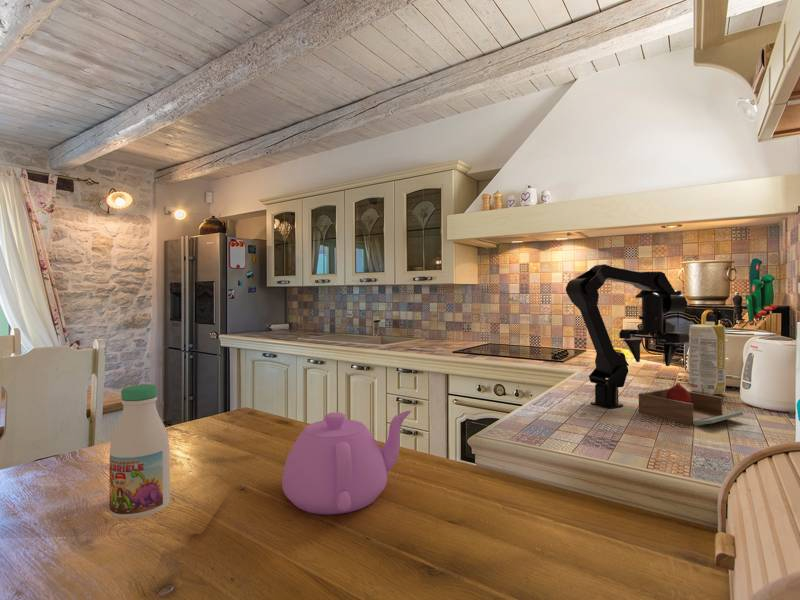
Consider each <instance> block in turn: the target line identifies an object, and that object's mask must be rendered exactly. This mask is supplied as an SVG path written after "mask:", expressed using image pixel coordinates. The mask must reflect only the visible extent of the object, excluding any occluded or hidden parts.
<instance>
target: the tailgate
mask: <svg viewBox="0 0 800 600" xmlns="http://www.w3.org/2000/svg"><path fill="white" fill-rule="evenodd" d="M740 416H741V417H742V416H744V412H743V411H737V412H732V413H724V414H723V415H719V416H715V417H712V418H708V419H704V420H700V421H696V422H693V424H694V425H693V426H700V425H707V424H709V425H710V424H715V423H718V422H722V421H725V420H726V421H727V420H729V419H734V418H736V417H740Z"/></svg>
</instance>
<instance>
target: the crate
mask: <svg viewBox="0 0 800 600" xmlns="http://www.w3.org/2000/svg"><path fill="white" fill-rule="evenodd" d="M670 388H671V387H668V388H663V389H658V390H657V389H655V390H652V391H651V390H650V391H646V392H641V393H638V413H640V414H644V415H648V416H652V417H655V418H660V419H663V420H668V421H672V422H675V423H678V424H679V423H680V424H683V425H687V426H691V427H693V426H695V425H694V424H693V422H696V421H700V420H704V419H708V418H712V417H715V416H719V415H723V409H724V408H723V407H724V404H723V403H724V401H723V400H724V399H723V398H724V397H722V396H717V395H710V394H705V393H700V392H695V391H688V390H687V391H688V392H689V394H690V397H691V402H690V403H687V402H682V401H677V400H672V399H666V395H667V392H668V390H669V389H670Z"/></svg>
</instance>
